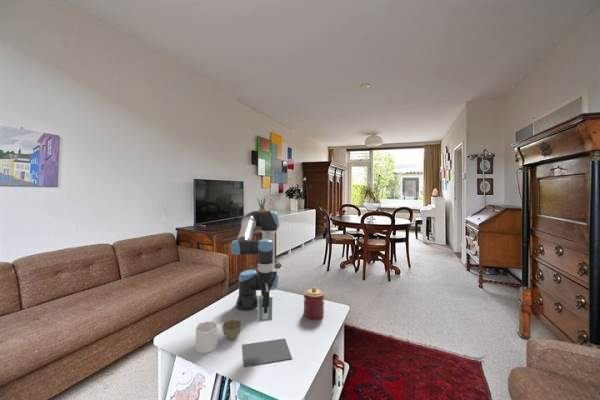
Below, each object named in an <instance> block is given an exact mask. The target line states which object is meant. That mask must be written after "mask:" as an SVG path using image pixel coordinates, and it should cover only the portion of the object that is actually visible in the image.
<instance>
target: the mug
mask: <svg viewBox="0 0 600 400" xmlns="http://www.w3.org/2000/svg"><path fill="white" fill-rule="evenodd" d="M195 327H196V328H195V350H196V352H197V353H198V354H209V353H211V352H213V351H215V349H217V347H218V323H216V322H215V321H205V322H200V323H198V324H197V326H195Z"/></svg>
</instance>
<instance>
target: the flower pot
mask: <svg viewBox="0 0 600 400" xmlns="http://www.w3.org/2000/svg"><path fill="white" fill-rule="evenodd" d="M221 326H222V331H223V334H224V336H225V338H226V339H227V340H228V341H234V340H237V338H238V337H239V335H240V333H241V330H242V327H243V323H242V321H241V320H239V319H230V320H227V321H225V322H223V324H222V325H221Z"/></svg>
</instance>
